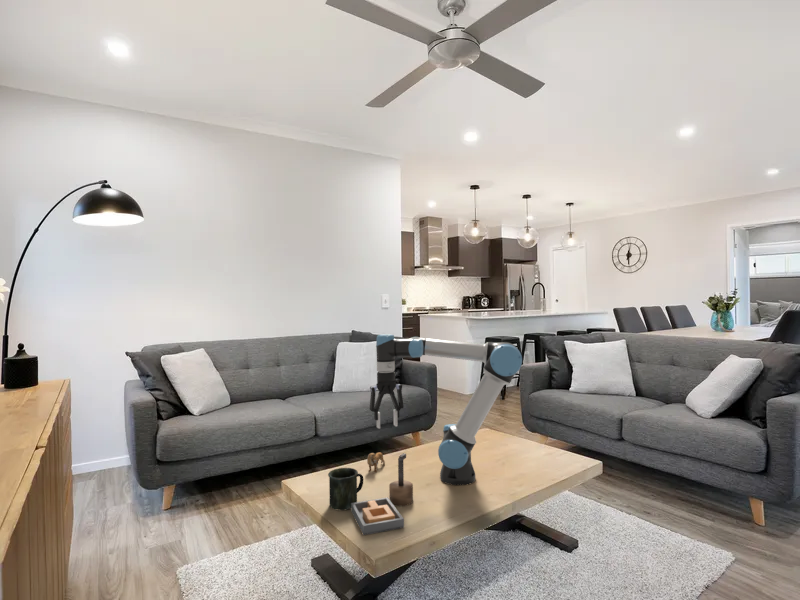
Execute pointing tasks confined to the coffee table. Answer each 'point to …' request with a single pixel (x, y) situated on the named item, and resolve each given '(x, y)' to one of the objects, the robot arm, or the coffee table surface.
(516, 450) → the coffee table surface
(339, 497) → the mug
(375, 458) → the lion figurine
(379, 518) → the orange square frame paddle
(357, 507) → the tray
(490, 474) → the coffee table surface
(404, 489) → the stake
